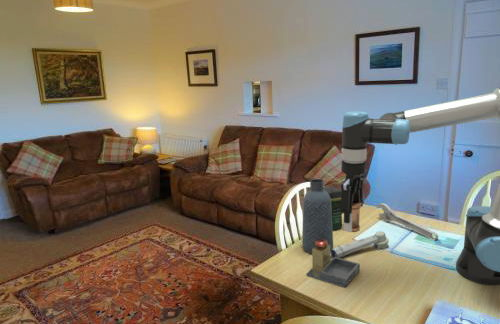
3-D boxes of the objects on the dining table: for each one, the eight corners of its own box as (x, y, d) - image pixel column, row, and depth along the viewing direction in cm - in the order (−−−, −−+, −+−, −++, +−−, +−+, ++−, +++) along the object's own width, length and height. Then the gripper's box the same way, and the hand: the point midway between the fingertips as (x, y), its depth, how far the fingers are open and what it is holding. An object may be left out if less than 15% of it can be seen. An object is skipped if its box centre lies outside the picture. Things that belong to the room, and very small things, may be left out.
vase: (339, 251, 143) (339, 182, 136) (312, 258, 139) (311, 187, 132) (322, 238, 154) (321, 174, 147) (297, 245, 150) (295, 179, 143)
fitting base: (360, 270, 128) (360, 242, 126) (345, 288, 118) (345, 258, 116) (323, 259, 137) (322, 233, 134) (306, 275, 127) (306, 247, 124)
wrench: (434, 247, 148) (375, 217, 172) (436, 246, 149) (377, 216, 173) (437, 229, 145) (377, 201, 169) (440, 228, 146) (379, 201, 170)
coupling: (362, 227, 122) (363, 202, 120) (356, 233, 118) (357, 207, 116) (346, 223, 126) (347, 199, 123) (339, 229, 121) (340, 204, 119)
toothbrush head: (328, 246, 139) (381, 226, 146) (330, 261, 141) (382, 240, 148) (336, 252, 134) (390, 230, 142) (338, 268, 136) (392, 246, 143)
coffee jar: (345, 228, 162) (345, 189, 158) (329, 232, 160) (329, 192, 156) (333, 221, 171) (333, 183, 167) (318, 224, 169) (318, 186, 164)
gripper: (353, 153, 125) (351, 216, 131) (330, 165, 111) (328, 235, 117) (375, 156, 121) (371, 220, 127) (353, 168, 107) (351, 241, 112)
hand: (351, 227), depth 122 cm, fingers closed on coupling, 6 cm apart
